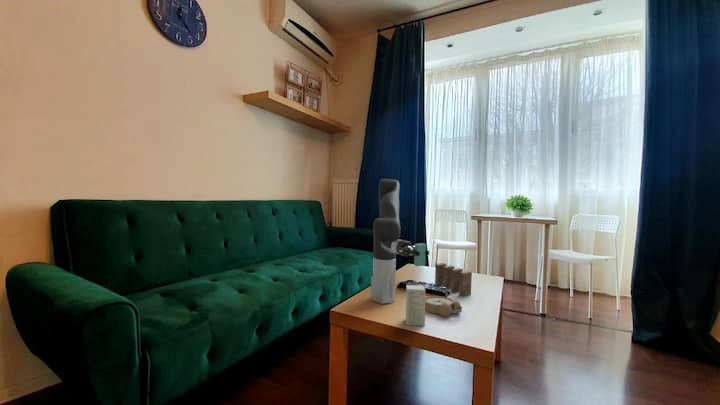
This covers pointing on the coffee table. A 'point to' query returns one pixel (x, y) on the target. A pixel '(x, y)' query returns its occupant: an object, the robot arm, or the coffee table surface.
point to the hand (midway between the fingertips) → (423, 253)
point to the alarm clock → (442, 305)
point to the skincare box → (415, 305)
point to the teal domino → (420, 259)
